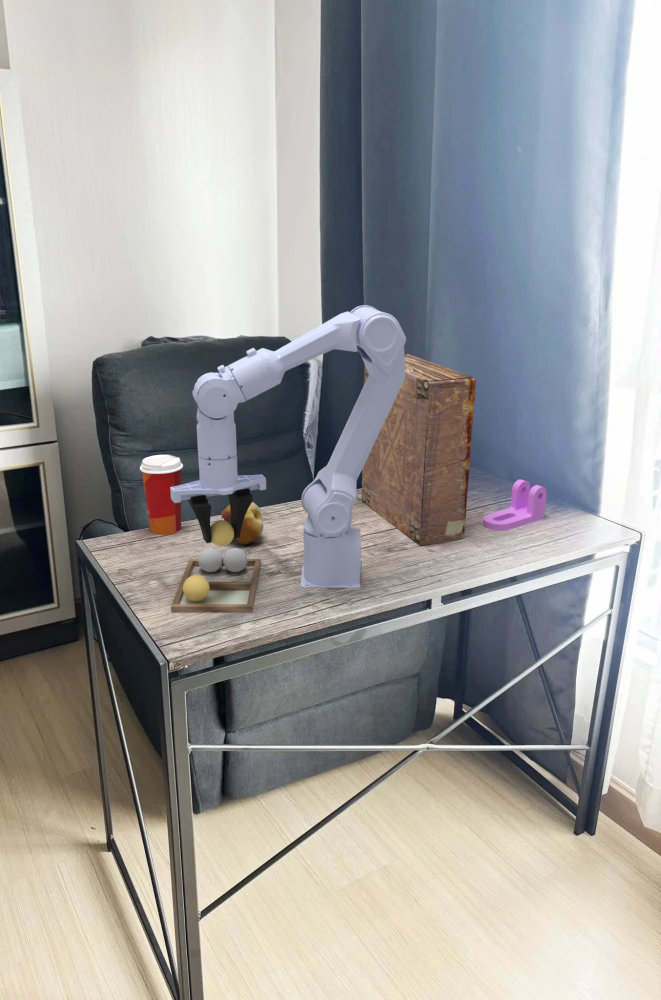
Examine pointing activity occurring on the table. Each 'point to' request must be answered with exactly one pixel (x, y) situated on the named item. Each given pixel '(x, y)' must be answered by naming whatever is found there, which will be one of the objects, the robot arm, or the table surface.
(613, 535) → the table surface
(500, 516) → the bracket
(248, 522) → the fruit
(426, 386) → the book
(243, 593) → the sorting board
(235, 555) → the grey ball
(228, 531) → the ochre ball
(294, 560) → the table surface
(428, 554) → the table surface
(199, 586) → the ochre ball
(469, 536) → the table surface
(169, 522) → the paper cup
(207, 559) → the grey ball
